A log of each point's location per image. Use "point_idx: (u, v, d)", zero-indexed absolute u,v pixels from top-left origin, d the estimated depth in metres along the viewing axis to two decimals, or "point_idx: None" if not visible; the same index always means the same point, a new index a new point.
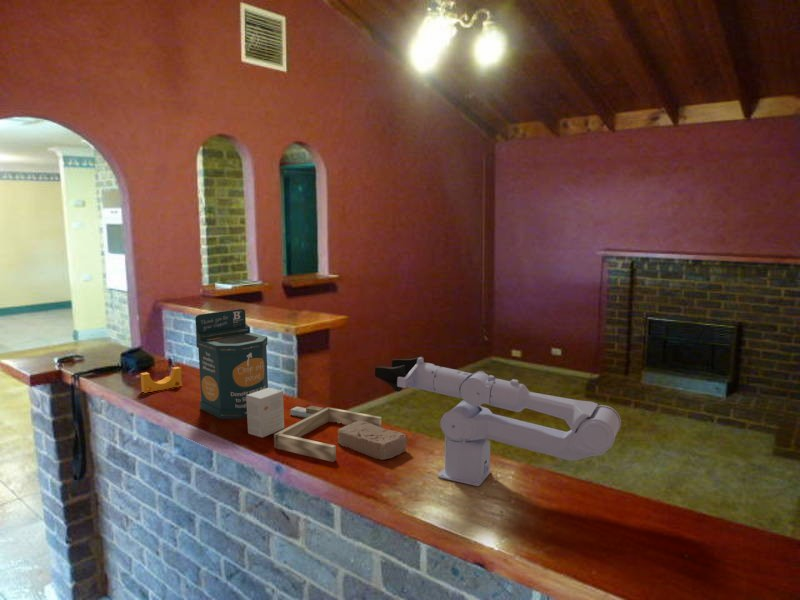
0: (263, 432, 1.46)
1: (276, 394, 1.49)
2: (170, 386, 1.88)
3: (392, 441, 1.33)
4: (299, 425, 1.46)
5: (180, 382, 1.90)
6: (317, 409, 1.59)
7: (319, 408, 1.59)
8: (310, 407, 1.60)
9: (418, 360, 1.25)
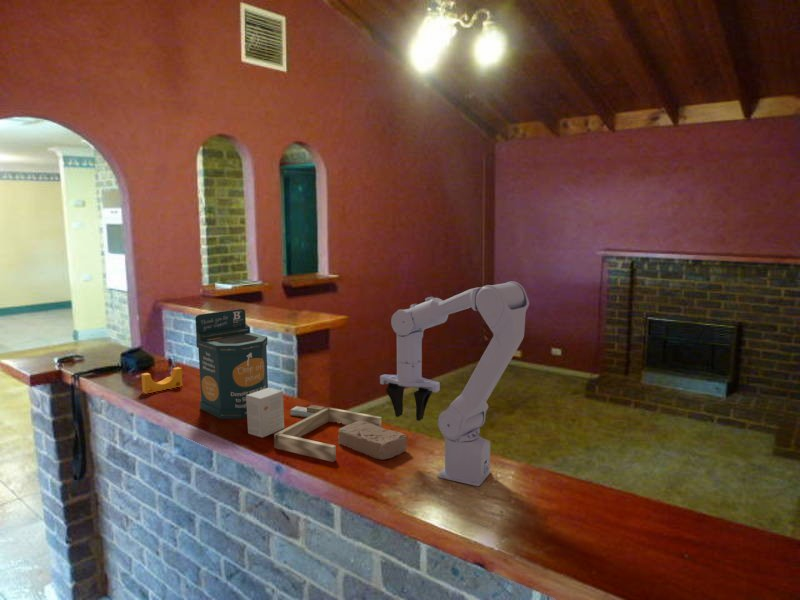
0: (263, 432, 1.46)
1: (276, 394, 1.49)
2: (171, 386, 1.87)
3: (392, 441, 1.33)
4: (299, 425, 1.46)
5: (181, 382, 1.89)
6: (318, 408, 1.59)
7: (320, 407, 1.60)
8: (311, 406, 1.61)
9: None
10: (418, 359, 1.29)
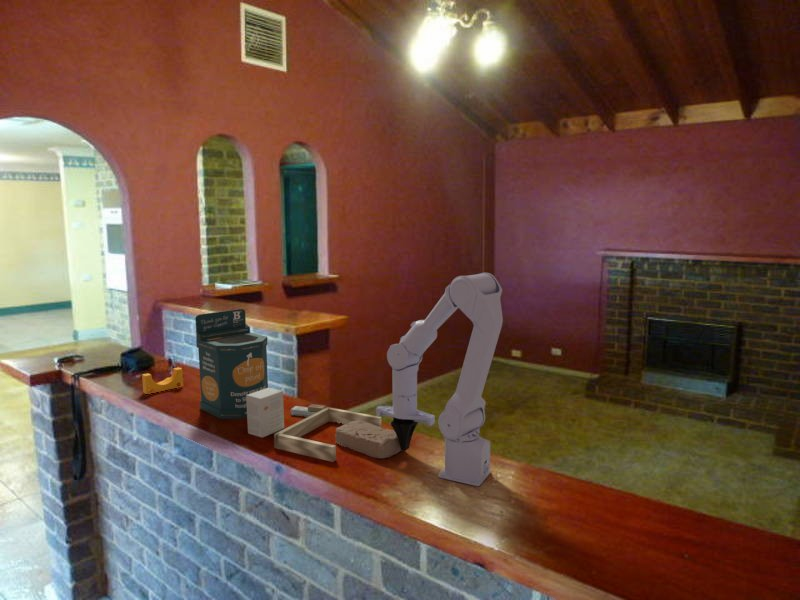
0: (263, 432, 1.46)
1: (276, 394, 1.49)
2: (172, 387, 1.87)
3: (390, 440, 1.33)
4: (299, 425, 1.46)
5: (181, 383, 1.89)
6: (320, 407, 1.60)
7: (321, 406, 1.61)
8: (312, 406, 1.61)
9: None
10: (413, 392, 1.31)
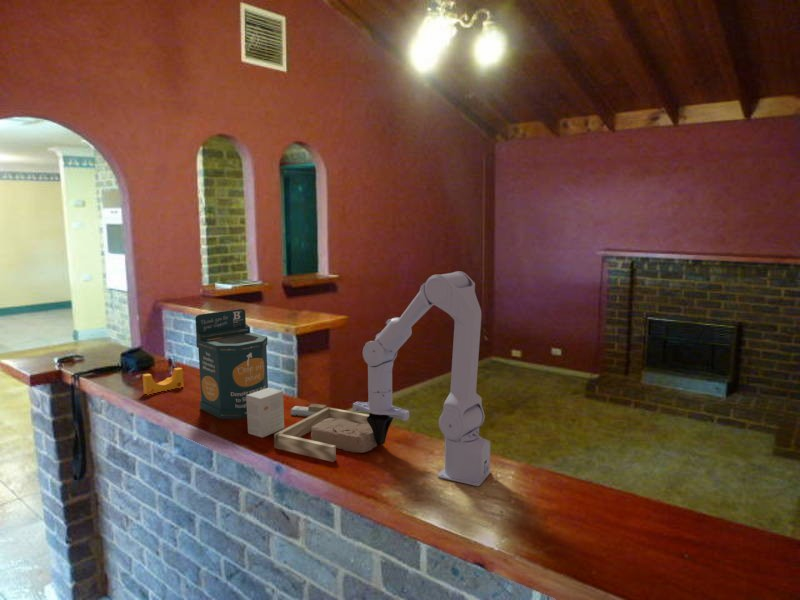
0: (263, 432, 1.46)
1: (276, 394, 1.49)
2: (172, 387, 1.86)
3: (370, 434, 1.37)
4: (299, 425, 1.46)
5: (182, 383, 1.89)
6: (320, 406, 1.61)
7: (322, 405, 1.62)
8: (312, 405, 1.62)
9: None
10: (389, 388, 1.34)
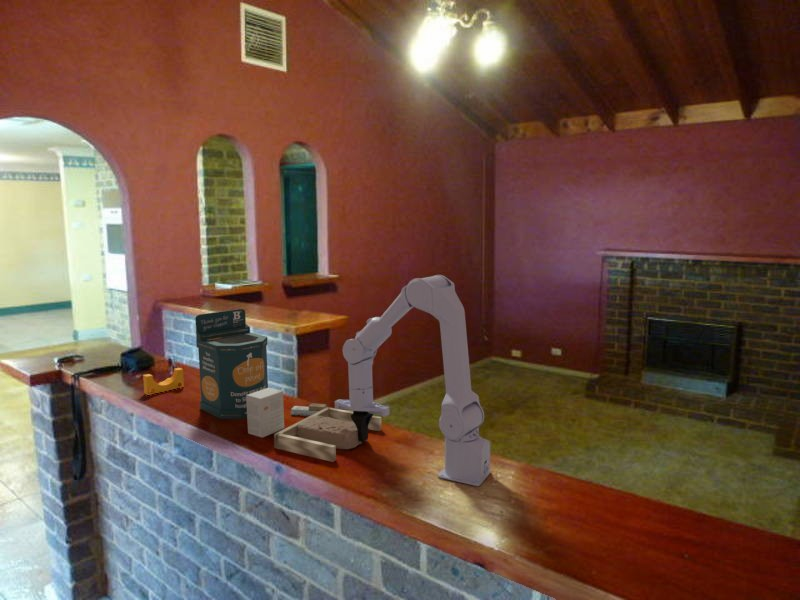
0: (263, 432, 1.46)
1: (276, 394, 1.49)
2: (173, 387, 1.86)
3: (355, 431, 1.39)
4: None
5: (182, 383, 1.88)
6: (321, 406, 1.61)
7: (322, 405, 1.62)
8: (312, 405, 1.62)
9: None
10: (369, 385, 1.37)
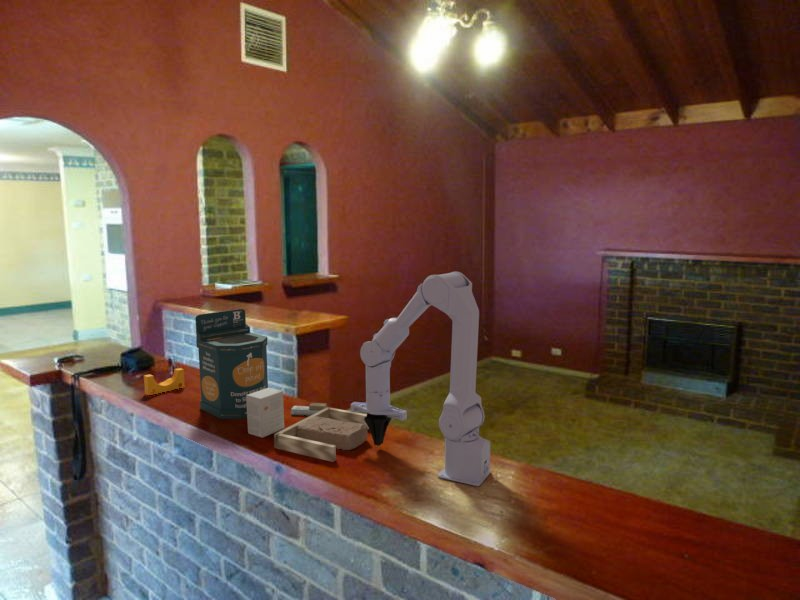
0: (263, 432, 1.46)
1: (276, 394, 1.49)
2: (173, 388, 1.86)
3: (356, 432, 1.39)
4: None
5: (183, 383, 1.88)
6: (321, 405, 1.62)
7: (322, 404, 1.63)
8: (312, 404, 1.63)
9: None
10: (387, 388, 1.35)
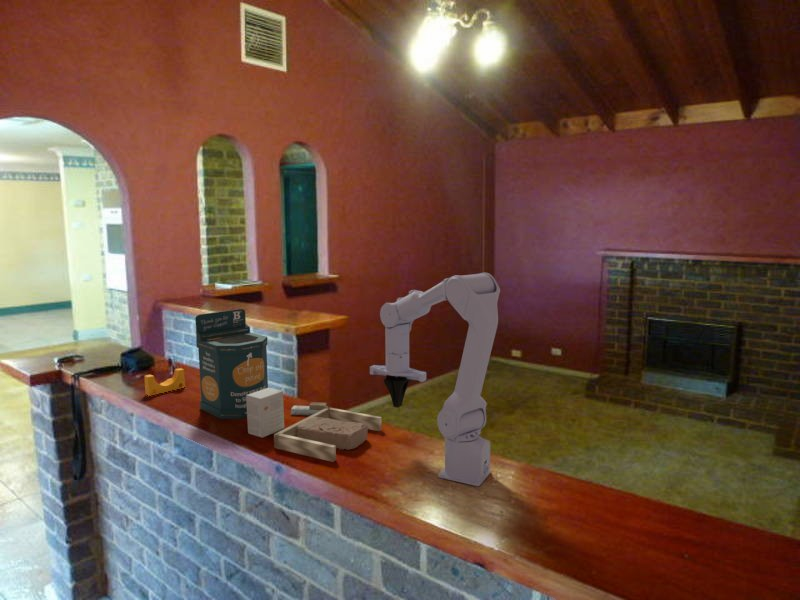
0: (263, 432, 1.46)
1: (276, 394, 1.49)
2: (174, 388, 1.86)
3: (357, 431, 1.39)
4: None
5: (183, 384, 1.88)
6: (322, 404, 1.62)
7: (322, 403, 1.63)
8: (313, 404, 1.63)
9: None
10: (404, 350, 1.35)
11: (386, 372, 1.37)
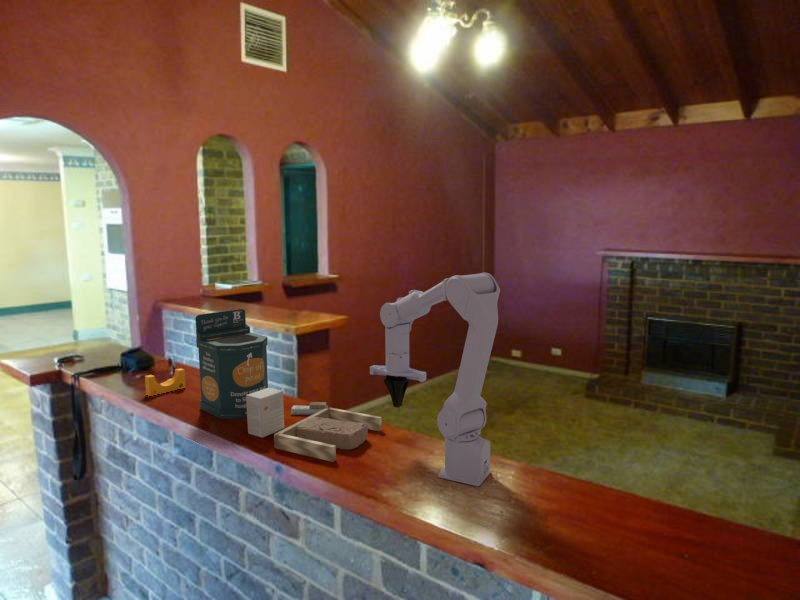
0: (263, 432, 1.46)
1: (276, 394, 1.49)
2: (174, 388, 1.85)
3: (357, 431, 1.39)
4: None
5: (184, 384, 1.88)
6: (322, 404, 1.63)
7: (322, 403, 1.64)
8: (313, 403, 1.63)
9: None
10: (404, 350, 1.35)
11: (386, 372, 1.37)
